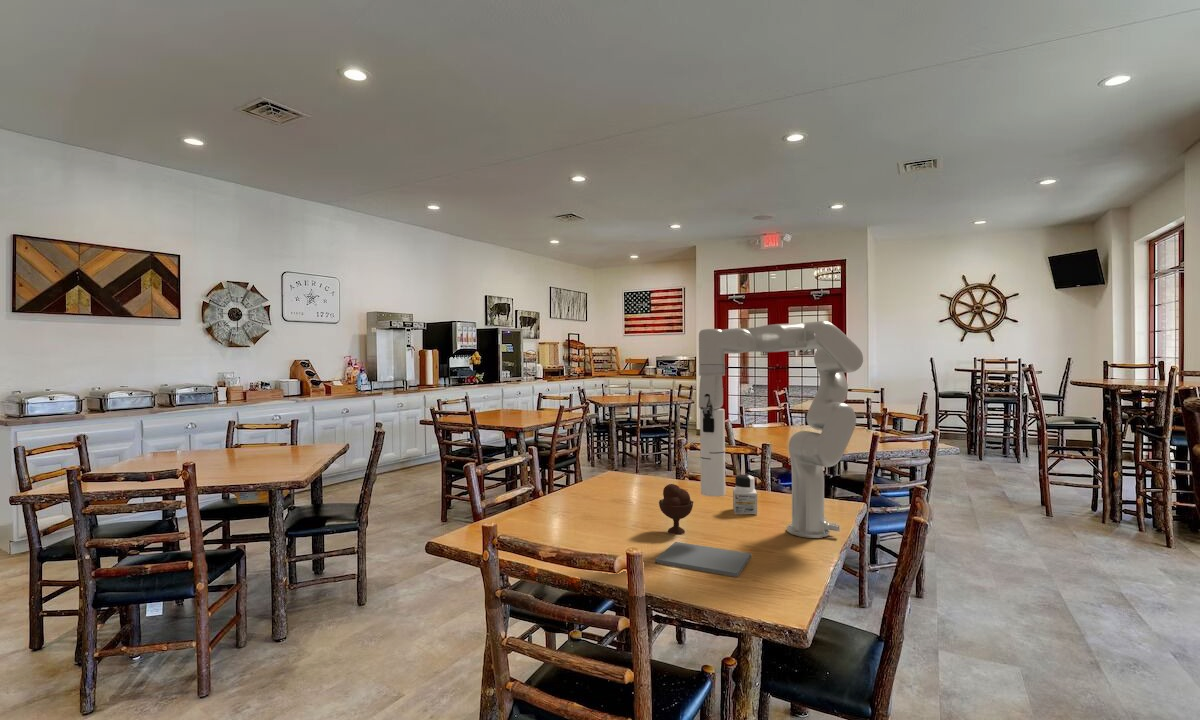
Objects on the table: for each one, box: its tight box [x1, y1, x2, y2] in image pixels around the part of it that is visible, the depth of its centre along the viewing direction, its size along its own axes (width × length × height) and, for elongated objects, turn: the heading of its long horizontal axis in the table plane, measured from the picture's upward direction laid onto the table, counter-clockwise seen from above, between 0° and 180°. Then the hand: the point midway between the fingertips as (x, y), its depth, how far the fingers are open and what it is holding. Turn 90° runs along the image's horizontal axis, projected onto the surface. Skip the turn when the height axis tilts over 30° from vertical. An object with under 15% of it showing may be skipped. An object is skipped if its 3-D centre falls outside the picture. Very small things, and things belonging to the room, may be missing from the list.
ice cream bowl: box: [658, 483, 694, 536], centre depth 177 cm, size 11×11×15 cm
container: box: [732, 474, 758, 515], centre depth 200 cm, size 8×8×13 cm
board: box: [654, 541, 752, 578], centre depth 153 cm, size 22×16×1 cm
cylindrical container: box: [699, 408, 726, 498], centre depth 167 cm, size 7×7×25 cm
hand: (712, 430), depth 167 cm, fingers closed on cylindrical container, 7 cm apart
